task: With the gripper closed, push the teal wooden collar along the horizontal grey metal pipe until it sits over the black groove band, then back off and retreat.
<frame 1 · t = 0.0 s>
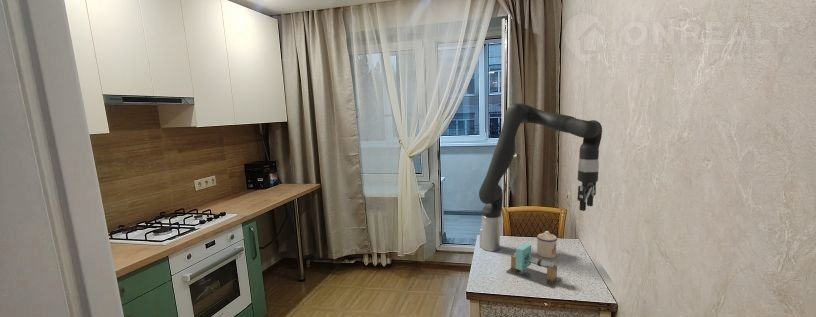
hand: (586, 208, 149), 29 cm above the table, fingers open, 8 cm apart
collar: (523, 256, 155), point 7 cm above the table, slide at 0.0 cm
pipe rig: (533, 276, 153), on the table
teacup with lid: (546, 253, 176), on the table
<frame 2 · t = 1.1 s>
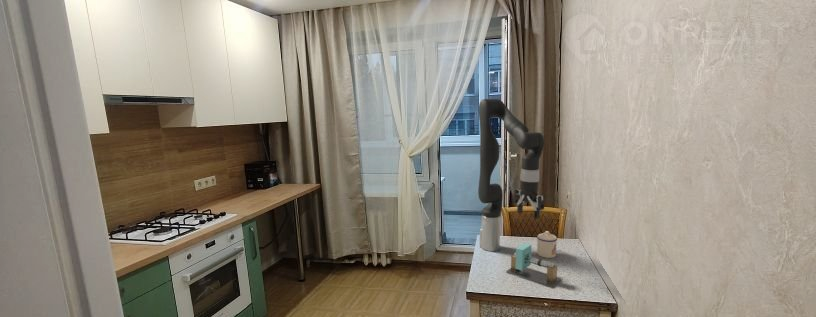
hand: (527, 215, 156), 25 cm above the table, fingers open, 8 cm apart
nothing on the table moved.
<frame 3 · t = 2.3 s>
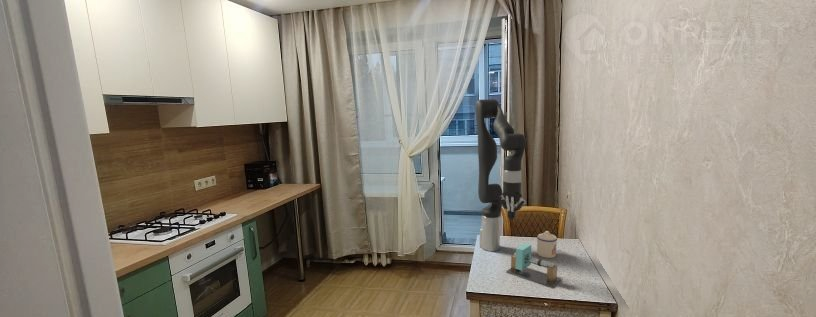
hand: (511, 219, 157), 23 cm above the table, fingers closed
nothing on the table moved.
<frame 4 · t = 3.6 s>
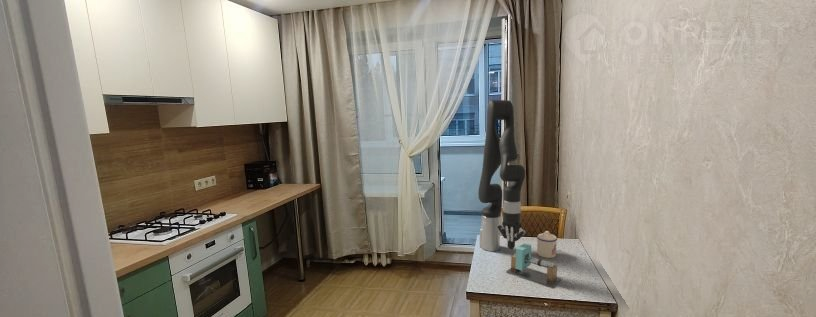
hand: (511, 248, 159), 10 cm above the table, fingers closed
nothing on the table moved.
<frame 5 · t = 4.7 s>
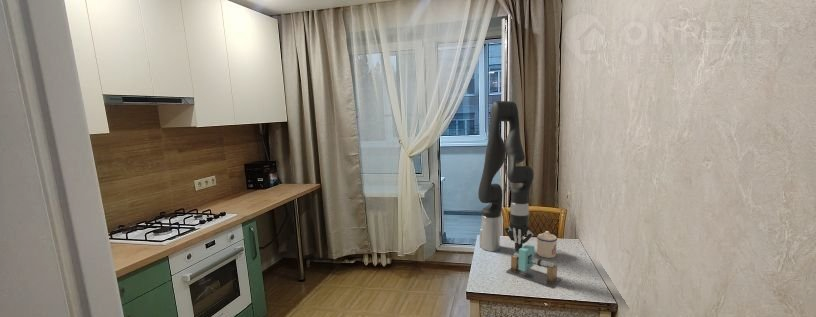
hand: (518, 251, 156), 9 cm above the table, fingers closed
collar: (526, 257, 154), point 7 cm above the table, slide at 1.3 cm, touching gripper
everything else where it was.
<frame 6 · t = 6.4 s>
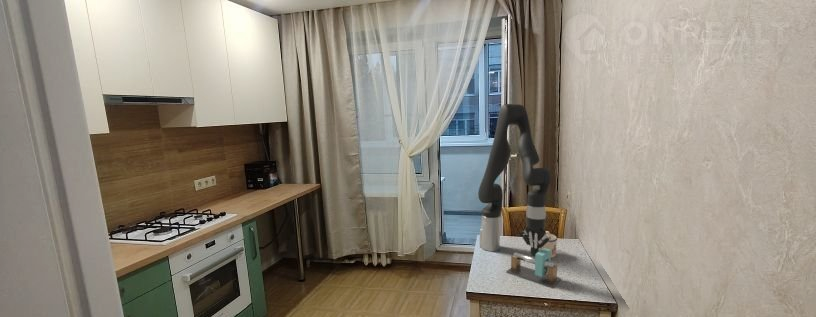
hand: (534, 255, 151), 9 cm above the table, fingers closed
collar: (542, 262, 149), point 8 cm above the table, slide at 8.6 cm, touching gripper
everything else where it was.
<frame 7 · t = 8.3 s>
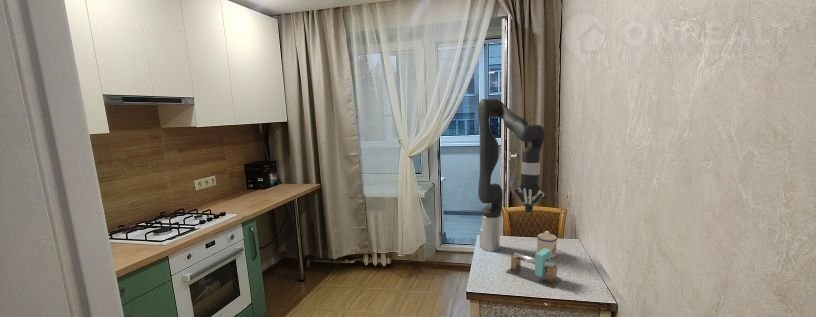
hand: (528, 212, 154), 27 cm above the table, fingers closed
collar: (542, 262, 149), point 7 cm above the table, slide at 8.6 cm
everything else where it was.
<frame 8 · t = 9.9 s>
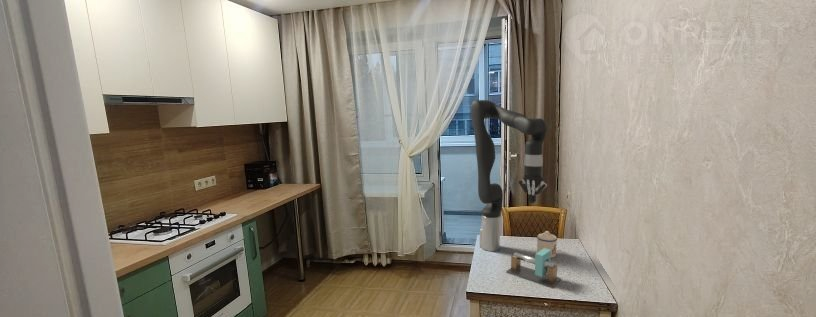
hand: (532, 202, 160), 29 cm above the table, fingers closed
nothing on the table moved.
at the end: collar slide at 8.6 cm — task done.
